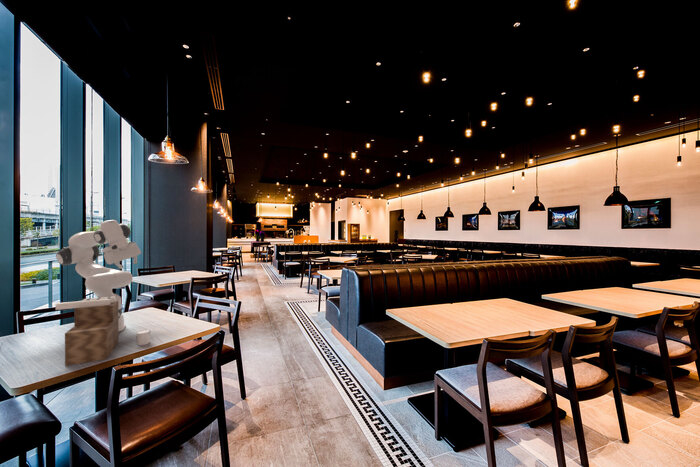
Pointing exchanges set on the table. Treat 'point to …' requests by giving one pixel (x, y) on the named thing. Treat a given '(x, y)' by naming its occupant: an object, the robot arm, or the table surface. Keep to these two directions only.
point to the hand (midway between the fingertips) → (129, 265)
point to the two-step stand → (92, 334)
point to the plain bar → (83, 304)
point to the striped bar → (113, 299)
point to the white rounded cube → (143, 337)
